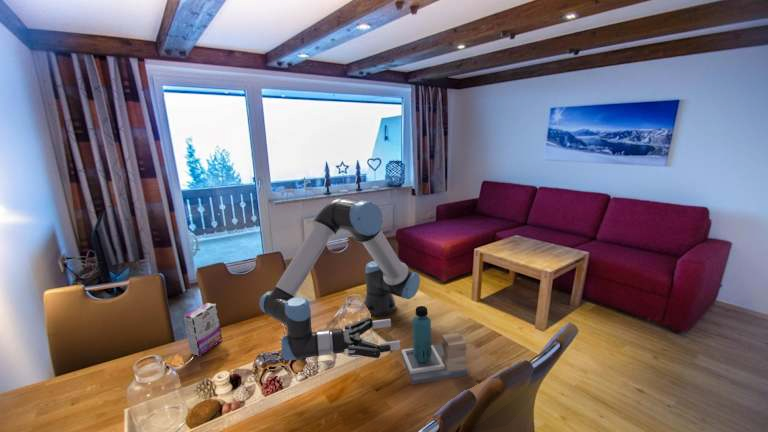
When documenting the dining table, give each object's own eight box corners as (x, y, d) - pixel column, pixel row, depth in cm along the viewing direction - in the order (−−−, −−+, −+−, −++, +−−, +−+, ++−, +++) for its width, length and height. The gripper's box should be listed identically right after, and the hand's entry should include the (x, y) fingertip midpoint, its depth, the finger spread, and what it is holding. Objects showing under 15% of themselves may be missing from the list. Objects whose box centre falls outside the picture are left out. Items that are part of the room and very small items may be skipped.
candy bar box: (213, 338, 136) (207, 302, 132) (222, 340, 134) (217, 303, 131) (189, 355, 125) (182, 315, 122) (199, 357, 124) (192, 317, 120)
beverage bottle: (422, 368, 112) (422, 315, 108) (408, 359, 117) (407, 307, 113) (435, 360, 116) (435, 308, 112) (421, 351, 121) (421, 301, 117)
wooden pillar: (441, 360, 116) (442, 335, 114) (458, 358, 117) (458, 332, 115) (448, 372, 110) (448, 345, 108) (465, 369, 111) (466, 342, 109)
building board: (401, 354, 122) (400, 348, 122) (449, 346, 126) (449, 340, 125) (413, 384, 107) (413, 377, 107) (467, 375, 111) (468, 368, 110)
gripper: (330, 331, 121) (387, 323, 125) (334, 377, 97) (404, 366, 101) (329, 312, 119) (387, 305, 123) (332, 355, 95) (404, 344, 99)
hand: (395, 333), depth 112 cm, fingers open, 13 cm apart
